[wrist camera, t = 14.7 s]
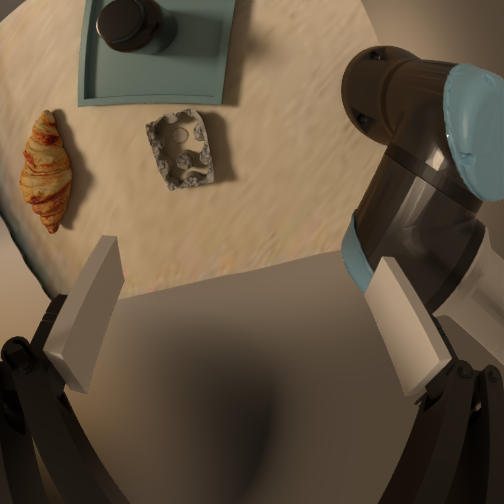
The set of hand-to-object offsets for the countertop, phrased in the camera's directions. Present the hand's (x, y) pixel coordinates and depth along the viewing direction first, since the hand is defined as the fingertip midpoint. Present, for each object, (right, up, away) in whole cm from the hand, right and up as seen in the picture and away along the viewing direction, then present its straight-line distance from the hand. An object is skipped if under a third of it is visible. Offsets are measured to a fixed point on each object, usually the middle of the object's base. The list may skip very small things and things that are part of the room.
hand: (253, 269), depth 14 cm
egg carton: (-9, +16, +24) cm, 30 cm away
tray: (-13, +29, +14) cm, 34 cm away
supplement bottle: (-13, +29, +13) cm, 34 cm away
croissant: (-32, +14, +24) cm, 42 cm away
